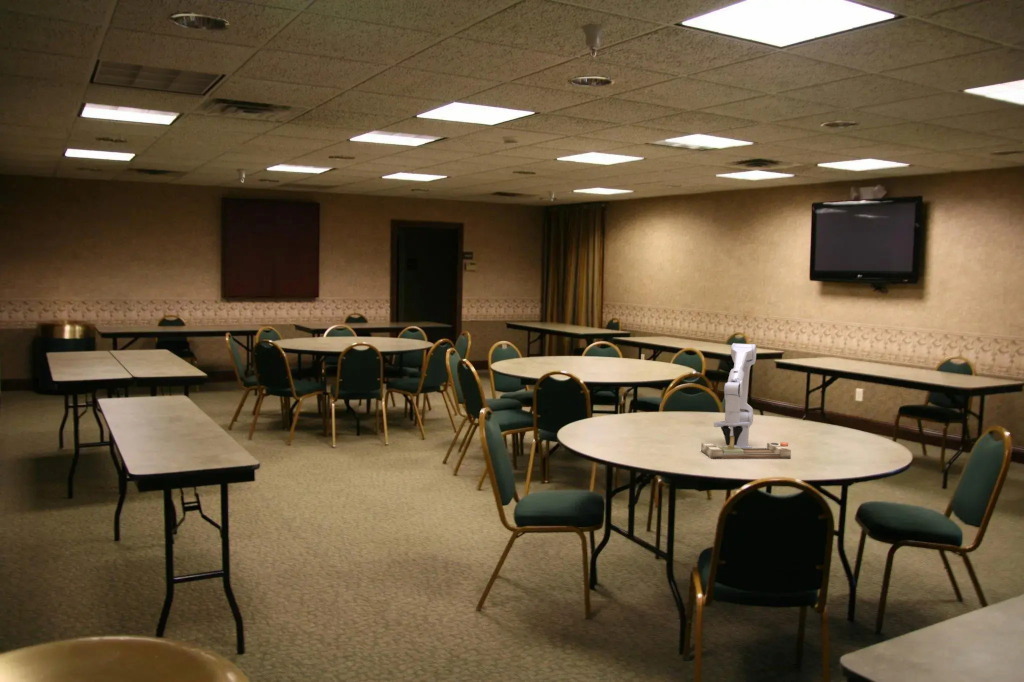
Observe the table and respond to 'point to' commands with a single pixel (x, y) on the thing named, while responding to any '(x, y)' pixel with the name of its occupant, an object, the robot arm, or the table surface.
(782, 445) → the button
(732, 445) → the carriage
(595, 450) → the table surface
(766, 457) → the rail
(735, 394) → the robot arm
